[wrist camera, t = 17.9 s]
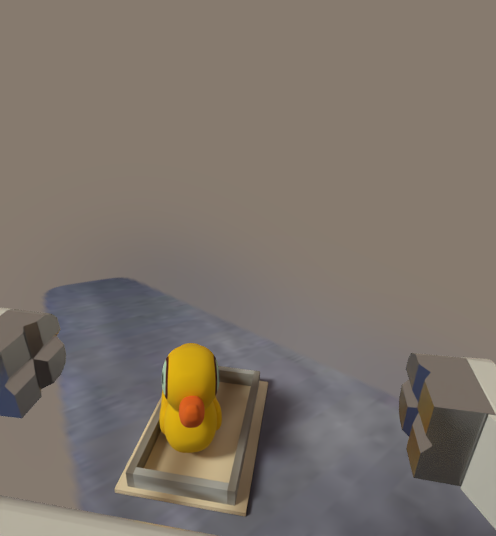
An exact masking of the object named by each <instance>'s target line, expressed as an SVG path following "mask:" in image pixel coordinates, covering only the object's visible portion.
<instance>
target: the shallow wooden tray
mask: <svg viewBox="0 0 496 536" xmlns="http://www.w3.org/2000/svg"><path fill="white" fill-rule="evenodd" d="M218 367H219V387H218V391H217V394H216V398H217V401H218V402H219V404H220V407H221V412H222V423H221V427H220V428H219V429H218V430H216V433H215V436H214V438H213V440H212V442H211V443H210V445H209V446H208V447H207V448H205V449H204V450H202V451H199V452H193V453H182V452H178V451H176V450H175V449H173V448H172V447H171V446H170V444H169V443H168V441H167V439H166V436H165V434H163V433H162V431H161V429H160V423H159V415H160V409H161V400H162V396H161V398H160V400H159V402H158V404H157V406H156V408H155V410H154V412H153V414H152V416H151V418H150V420H149V422H148V424H147V426H146V428H145V430H144V432H143V434H142V436H141V438H140V440H139V442H138V444H137V446H136V448H135V450H134V452H133V454H132V456H131V458H130V460H129V462H128V464H127V465H126V467H125V469H124V471H123V473H122V475H121V477H120V479H119V481H118V483H117V485H116V487H115V493H121V494H126V495H132V496H137V497H142V498H148V499H153V500H159V501H164V502H170V503H175V504H181V505H186V506H191V507H197V508H202V509H208V510H213V511H219V512H224V513H229V514H235V515H240V516H246V511H247V505H248V499H249V493H250V487H251V481H252V476H253V470H254V464H255V458H256V452H257V446H258V440H259V434H260V428H261V423H262V417H263V411H264V405H265V399H266V393H267V387H268V382H264V381H259V380H260V372H259V371H252V370H244V369H237V368H229V367H222V366H218Z"/></svg>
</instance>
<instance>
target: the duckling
mask: <svg viewBox="0 0 496 536" xmlns="http://www.w3.org/2000/svg"><path fill="white" fill-rule="evenodd" d="M218 387H219V367H218V363H217V360H216V358H215V356H214V355H213V353H212V352H211V351H210V350H209V349H207V348H206V347H203V346H200V345H198V344H194V343H188V344H184V345H182V346H180V347H178V348H176V349H174V350H173V351H172V352H171V353H170V354H169V355H168V357H167V358H166V360H165V363H164V366H163V370H162V388H163V391H162V400H161V409H160V415H159V423H160V429H161V431H162V433H163V434H165V436H166V439H167V441H168V443H169V444H170V446H171V447H172V448H173V449H175V450H176V451H178V452H182V453H193V452H199V451H202V450H204V449H205V448H207V447H208V446H209V445H210V443H211V442H212V440H213V438H214V436H215V433H216V430H218V429H219V428H220V427H221V423H222V412H221V407H220V404H219V402H218V401H217V398H216V394H217V391H218Z"/></svg>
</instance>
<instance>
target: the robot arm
mask: <svg viewBox="0 0 496 536" xmlns="http://www.w3.org/2000/svg"><path fill="white" fill-rule="evenodd" d="M59 331H60V326H59V323H58V319H57V317H55V316H54V315H52V314H49V313H41V312H33V311H25V310H18V309H9V308H0V416H6V417H15V418H23V417H24V415H25V414H26V413H27V412H28V411H29V410H30V409H31V408H32V407H33V405H34V404H35V403H36V402H37V401H38V400H39V399H40V398H41V389H42V388H44V387H46V386H48V385H50V384H52V383H54V382H55V381H56V379H57V378H58V377H59V376H60V375H61V373H62V370H63V368H64V365H65V361H66V351H65V347H64V344H63V343H62V342H61V341H60V340H59V339H58V337H57V334H58V333H59ZM406 370H407V373H408V377H409V380H408V381H406V382H405V383H404V384H402V388H401V393H400V398H399V415H400V422H401V427H402V430H403V431H404V432H405V433H406V434H407V435H408V436H409V440H408V444H407V448H406V449H407V453H408V457H409V461H410V465H411V469H412V473H413V477H414V478H418V479H423V480H429V481H434V482H440V483H446V484H451V485H457V486H461V490H462V491H463V492H464V493H465V494H466V495H467V497H468V498H469V499H470V500H471V501H472V502H473V504H474V505H475V506H476V507H477V508H478V510H479V511H480V512H481V513H482V514H483V515H484V517H485V518H486V519H487V520H488V521H489V523H490V524H491V525H492V526H493V527H494V528H495V530H496V365H495V363H494V362H492V361H491V360H489V359H478V358H466V357H463V358H458V357H448V356H438V355H428V354H417V353H411V355H410V356H409V358H408V362H407V366H406ZM0 536H217V535H212V534H206V533H201V532H195V531H190V530H184V529H179V528H174V527H168V526H163V525H158V524H152V523H147V522H141V521H136V520H131V519H125V518H120V517H115V516H109V515H104V514H98V513H93V512H88V511H82V510H77V509H72V508H66V507H60V506H55V505H49V504H45V503H39V502H34V501H28V500H23V499H17V498H12V497H7V496H2V495H0Z"/></svg>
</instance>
